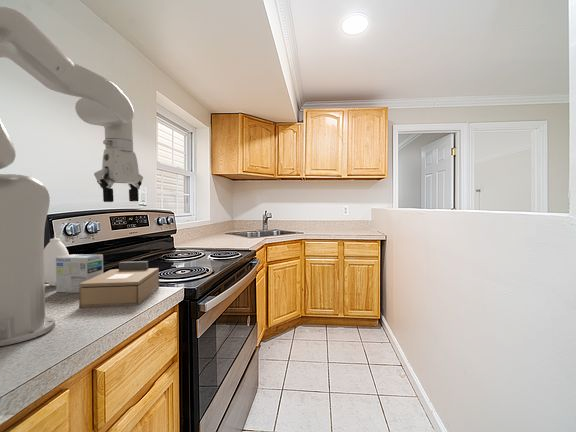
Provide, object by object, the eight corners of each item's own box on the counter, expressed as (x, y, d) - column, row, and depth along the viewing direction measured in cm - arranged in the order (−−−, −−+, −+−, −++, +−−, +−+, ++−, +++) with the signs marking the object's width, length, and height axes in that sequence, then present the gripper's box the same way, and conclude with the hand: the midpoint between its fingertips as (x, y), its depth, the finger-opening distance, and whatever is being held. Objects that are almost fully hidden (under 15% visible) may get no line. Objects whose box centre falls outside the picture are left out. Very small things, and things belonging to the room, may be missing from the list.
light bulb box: (104, 287, 92) (104, 253, 92) (88, 293, 86) (87, 257, 86) (73, 286, 94) (73, 253, 93) (54, 292, 87) (54, 256, 87)
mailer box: (138, 305, 75) (138, 286, 75) (79, 307, 73) (79, 288, 73) (158, 286, 93) (158, 271, 93) (111, 288, 91) (111, 272, 91)
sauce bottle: (76, 282, 98) (75, 229, 98) (55, 289, 91) (54, 231, 90) (56, 282, 99) (55, 229, 99) (33, 288, 92) (32, 231, 91)
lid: (138, 284, 75) (137, 272, 75) (78, 287, 73) (78, 274, 73) (158, 270, 93) (158, 260, 93) (111, 271, 91) (111, 261, 91)
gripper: (104, 141, 81) (107, 202, 82) (149, 150, 98) (151, 201, 99) (83, 142, 83) (86, 202, 84) (131, 151, 100) (133, 201, 101)
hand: (121, 201), depth 92 cm, fingers open, 9 cm apart
